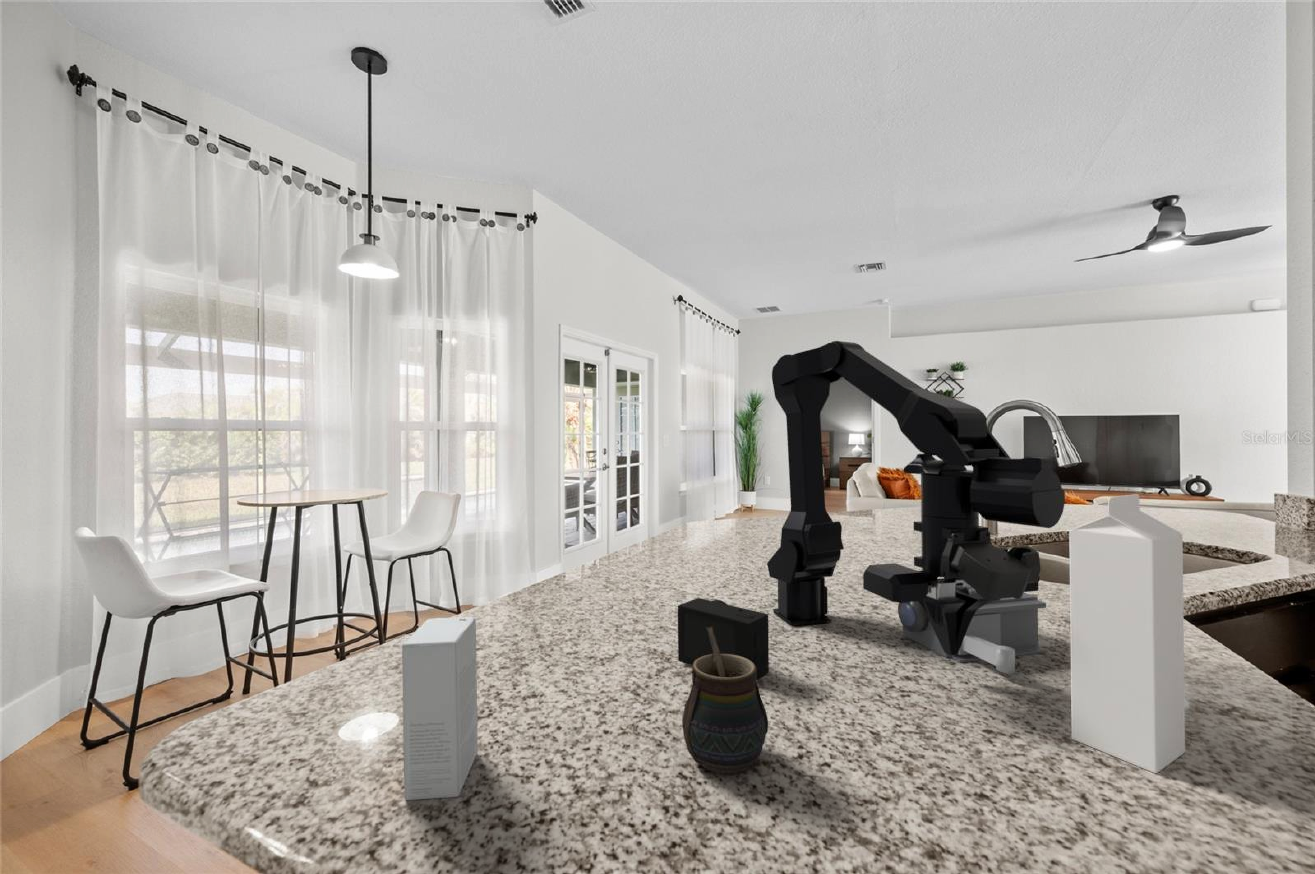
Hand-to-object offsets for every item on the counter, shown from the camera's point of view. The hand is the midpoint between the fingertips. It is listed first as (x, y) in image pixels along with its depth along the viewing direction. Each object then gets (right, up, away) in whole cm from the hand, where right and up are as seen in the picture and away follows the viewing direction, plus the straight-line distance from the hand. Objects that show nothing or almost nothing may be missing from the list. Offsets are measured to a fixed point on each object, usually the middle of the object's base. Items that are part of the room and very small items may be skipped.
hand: (950, 654), depth 61 cm
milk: (+8, -3, -13) cm, 16 cm away
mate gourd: (-27, -3, -14) cm, 31 cm away
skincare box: (-50, -3, -17) cm, 53 cm away
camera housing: (+8, -3, +11) cm, 14 cm away
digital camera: (-25, -3, +4) cm, 25 cm away
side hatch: (+7, -2, +3) cm, 8 cm away
